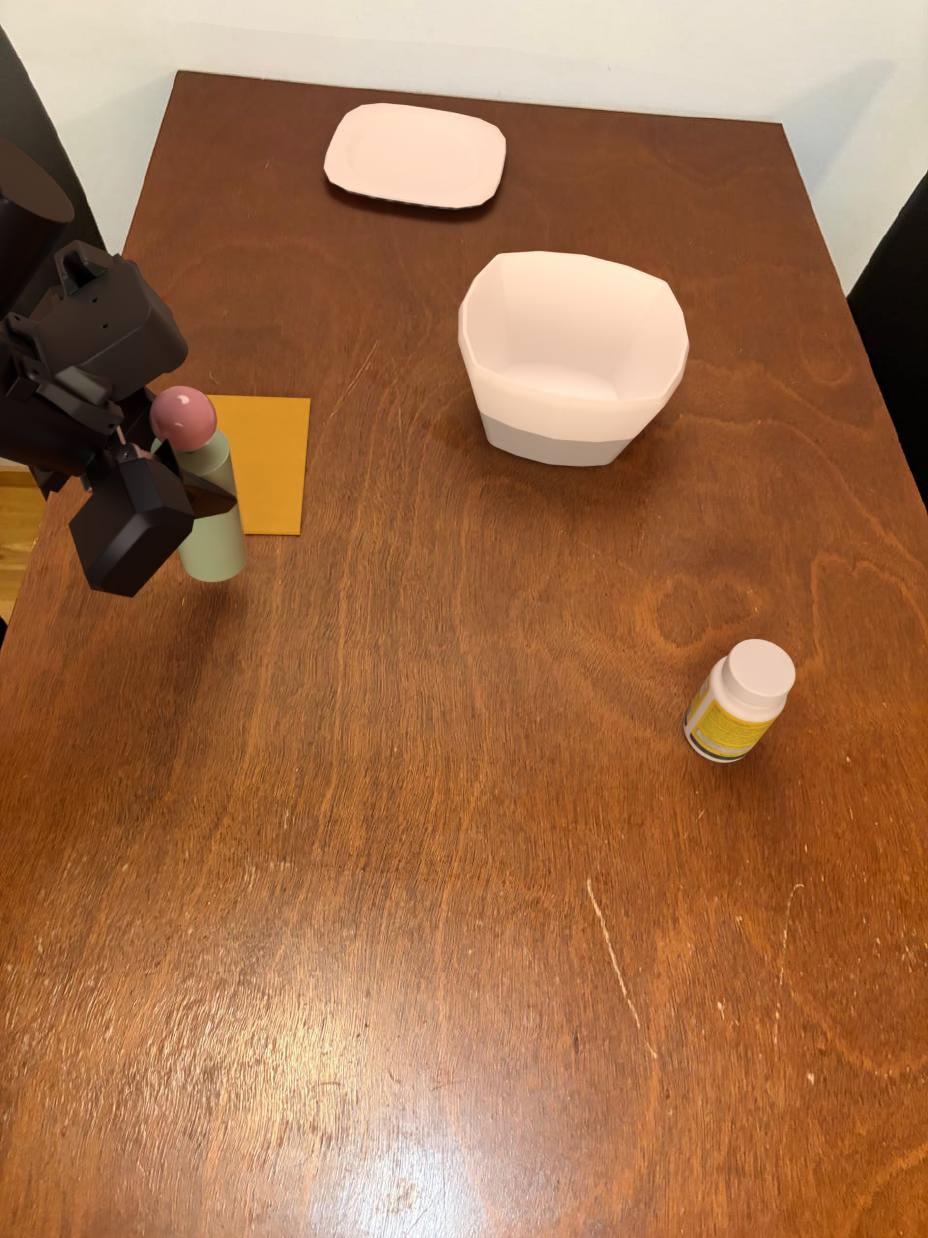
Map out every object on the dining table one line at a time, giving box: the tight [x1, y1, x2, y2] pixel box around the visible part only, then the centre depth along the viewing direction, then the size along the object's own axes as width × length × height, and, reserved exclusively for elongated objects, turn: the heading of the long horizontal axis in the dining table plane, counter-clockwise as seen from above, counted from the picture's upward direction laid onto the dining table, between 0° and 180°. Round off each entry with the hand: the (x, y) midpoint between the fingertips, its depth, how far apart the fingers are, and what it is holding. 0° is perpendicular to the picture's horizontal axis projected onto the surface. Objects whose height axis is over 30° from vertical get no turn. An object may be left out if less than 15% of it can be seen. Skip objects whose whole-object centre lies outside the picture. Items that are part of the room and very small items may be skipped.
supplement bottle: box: [682, 638, 796, 764], centre depth 56 cm, size 5×5×8 cm
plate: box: [323, 102, 507, 211], centre depth 93 cm, size 18×18×2 cm
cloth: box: [205, 394, 312, 536], centre depth 68 cm, size 14×10×1 cm
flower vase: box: [149, 385, 249, 583], centre depth 53 cm, size 4×4×14 cm
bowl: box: [457, 250, 690, 467], centre depth 71 cm, size 18×18×9 cm
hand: (220, 477), depth 54 cm, fingers closed on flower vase, 4 cm apart
